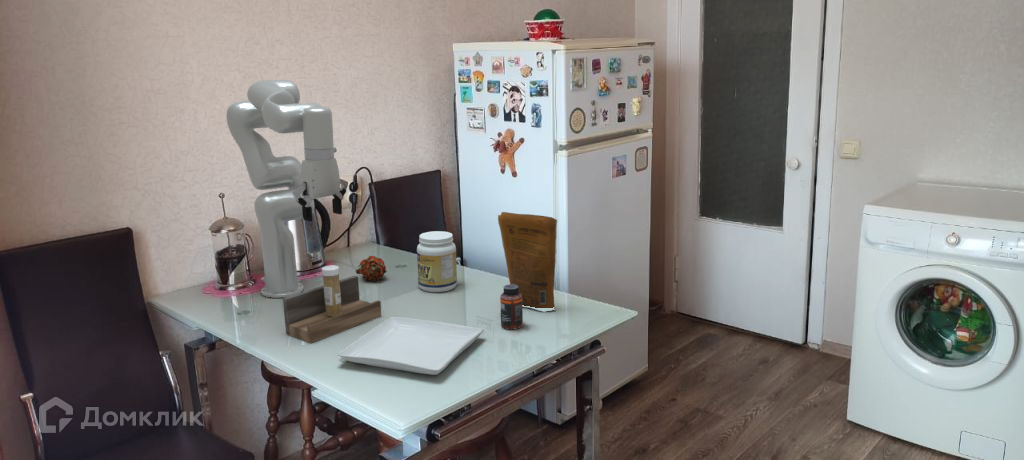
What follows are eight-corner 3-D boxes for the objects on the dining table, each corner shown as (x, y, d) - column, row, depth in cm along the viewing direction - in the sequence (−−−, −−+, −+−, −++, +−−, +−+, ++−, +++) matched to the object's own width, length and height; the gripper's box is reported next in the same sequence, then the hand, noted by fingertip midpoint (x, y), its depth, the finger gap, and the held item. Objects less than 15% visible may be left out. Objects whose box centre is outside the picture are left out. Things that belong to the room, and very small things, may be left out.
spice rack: (286, 333, 194) (282, 298, 192) (356, 308, 212) (354, 275, 210) (310, 343, 188) (307, 306, 185) (381, 316, 206) (379, 282, 203)
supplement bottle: (525, 323, 199) (525, 284, 197) (518, 331, 194) (518, 291, 191) (505, 321, 201) (504, 282, 198) (497, 328, 196) (496, 288, 193)
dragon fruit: (380, 289, 233) (363, 285, 243) (397, 269, 237) (380, 266, 246) (363, 271, 229) (346, 268, 239) (381, 251, 233) (363, 249, 242)
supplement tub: (410, 286, 231) (408, 234, 226) (441, 278, 238) (439, 228, 234) (433, 296, 222) (431, 242, 218) (465, 287, 230) (463, 234, 225)
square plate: (440, 385, 165) (439, 369, 164) (336, 368, 174) (334, 353, 173) (485, 340, 190) (485, 326, 189) (392, 327, 199) (391, 314, 198)
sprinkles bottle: (344, 315, 199) (341, 267, 195) (328, 318, 196) (325, 270, 193) (338, 310, 202) (335, 263, 199) (322, 313, 200) (319, 266, 197)
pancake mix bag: (549, 317, 204) (550, 219, 197) (497, 303, 215) (495, 210, 208) (563, 310, 209) (564, 215, 202) (511, 296, 220) (510, 206, 213)
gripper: (336, 148, 201) (339, 208, 206) (282, 156, 188) (287, 220, 193) (354, 151, 197) (357, 213, 201) (300, 160, 184) (304, 226, 188)
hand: (322, 216), depth 197 cm, fingers open, 9 cm apart
